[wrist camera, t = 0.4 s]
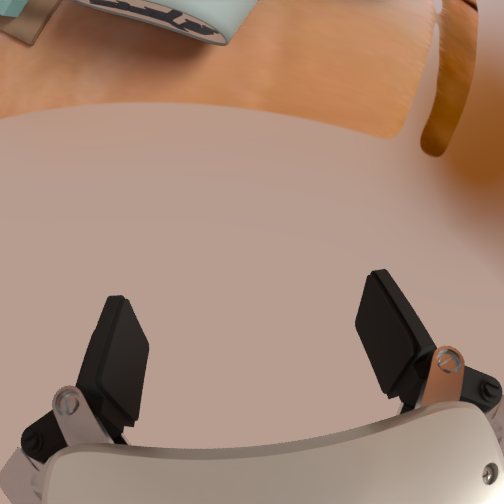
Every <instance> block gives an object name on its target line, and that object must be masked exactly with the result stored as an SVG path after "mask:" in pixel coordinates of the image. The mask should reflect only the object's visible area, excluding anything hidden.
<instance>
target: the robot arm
mask: <svg viewBox="0 0 504 504" xmlns="http://www.w3.org/2000/svg"><path fill="white" fill-rule="evenodd" d="M355 327H356V330H357V332H358V335H359V337H360V339H361V341H362V344H363V346H364V348H365V351H366V353H367V355H368V358H369V360H370V362H371V365H372V367H373V370H374V372H375V375H376V377H377V380H378V382H379V384H380V387H381V390H382V392H383V393H384V394H387V396H388V399H391V398H394V397H397V396H399V398H400V400H401V404H400V407H399V409H398V412H397V415H396V416H394V417H391V418H388V419H385V420H381V421H378V422H375V423H372V424H368V425H365V426H361V427H357V428H354V429H350V430H346V431H342V432H338V433H333V434H329V435H325V436H319V437H314V438H309V439H304V440H298V441H292V442H285V443H278V444H270V445H262V446H251V447H239V448H218V449H176V448H156V447H141V446H132V445H131V444H130V443H129V441H128V440H127V438H126V437H125V435H124V434H123V430H124V426H129V427H134V423H135V421H137V420H138V417H139V411H140V403H141V396H142V389H143V383H144V376H145V370H146V364H147V359H148V353H149V343H148V341H147V338H146V336H145V334H144V332H143V330H142V328H141V326H140V324H139V322H138V320H137V318H136V315H135V313H134V311H133V309H132V306H131V304H130V302H129V300H128V299H125V298H124V296H122V295H118V296H109V297H108V298H107V300H106V303H105V305H104V308H103V311H102V313H101V316H100V318H99V321H98V324H97V326H96V329H95V330H94V332H93V334H92V336H91V340H90V342H89V345H88V348H87V351H86V354H85V357H84V360H83V363H82V366H81V370H80V373H79V376H78V379H77V383H76V386H65V387H62V388H61V389H59V390H58V391H57V392H56V394H55V395H54V398H53V401H52V408H53V410H51V411H50V412H49V413H47V414H46V415H44V416H43V417H42V418H40V419H39V420H37V421H36V422H34V423H33V424H32V425H30V426H29V427H27V428H26V429H25V430H24V432H23V434H22V437H21V446H22V448H19V447H18V448H17V449H16V450H15V452H14V453H13V455H12V456H11V458H10V459H9V460H8V462H7V463H6V464H5V466H4V467H3V469H2V470H1V472H0V487H1V488H2V490H3V492H4V493H5V494H6V496H7V497H8V499H9V500H10V501H11V503H12V504H504V395H503V394H502V388H501V385H500V383H499V382H498V381H497V380H496V379H495V378H493V377H491V376H489V375H487V374H484V373H482V372H479V371H477V370H474V369H472V368H470V367H467V366H465V364H464V359H463V356H462V355H461V353H460V352H459V351H458V350H457V349H455V348H453V347H451V346H441V347H439V348H438V349H437V347H436V345H435V344H434V342H433V340H432V339H431V337H430V335H429V333H428V332H427V330H426V329H425V327H424V325H423V324H422V322H421V321H420V319H419V318H418V316H417V314H416V313H415V311H414V309H413V308H412V306H411V305H410V303H409V302H408V300H407V299H406V297H405V296H404V294H403V293H402V292H401V290H400V288H399V287H398V285H397V284H396V283H395V281H394V280H393V278H392V277H391V275H390V274H389V272H388V271H387V270H386V269H382V270H375V271H372V272H371V274H370V275H368V276H367V279H366V283H365V287H364V291H363V295H362V298H361V302H360V306H359V309H358V313H357V316H356V320H355Z"/></svg>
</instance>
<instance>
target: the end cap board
mask: <svg viewBox="0 0 504 504" xmlns="http://www.w3.org/2000/svg"><path fill="white" fill-rule="evenodd" d="M61 1H62V0H28V2H27V3H26V5H25V6H24V8H23V9H22V11H21V12H20V14H19V16H18V17H11V16H2V15H0V30H2V31H4V32H6V33H8V34H10V35H12V36H14V37H16V38H18V39H19V40H21V41H23V42H25V43H27V44H29V45H33V44H34V43H35V41H36V39H37V38H38V36H39V34H40V33H41V31H42V29H43V28H44V26H45V25H46V23H47V21H48V20H49V18H50V17H51V15H52V14H53V13H54V11H55V10H56V8H57V7H58V6H59V4H60V3H61Z"/></svg>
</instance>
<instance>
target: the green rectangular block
mask: <svg viewBox="0 0 504 504" xmlns="http://www.w3.org/2000/svg"><path fill="white" fill-rule="evenodd" d="M27 2H28V0H0V15H2V16H11V17H18V16H19V14H20V12H21V11H22V9H23V8H24V6H25V5H26V3H27Z"/></svg>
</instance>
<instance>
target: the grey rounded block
mask: <svg viewBox="0 0 504 504" xmlns="http://www.w3.org/2000/svg"><path fill="white" fill-rule="evenodd" d="M70 1H73V2H75V3H77V4H80V5H83V6H86V7H89V8H93V9H96V10H100V11H104V12H107V13H111V14H115V15H119V16H123V17H127V18H131V19H135V20H138V21H142V22H145V23H149V24H152V25H156V26H159V27H162V28H165V29H168V30H171V31H174V32H177V33H180V34H183V35H186V36H189V37H192V38H195V39H198V40H201V41H204V42H207V43H210V44H214V45H220V46H226V45H228V44H229V42H230V40H231V39H232V37H233V36H234V34H235V33H236V31H237V30H238V29H239V27H240V26H241V24H242V23H243V21H244V20H245V19H246V17H247V16H248V14H249V13H250V12H251V10H252V9H253V8H254V6H255V5H256V4H257V2H258V1H259V0H70Z"/></svg>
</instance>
